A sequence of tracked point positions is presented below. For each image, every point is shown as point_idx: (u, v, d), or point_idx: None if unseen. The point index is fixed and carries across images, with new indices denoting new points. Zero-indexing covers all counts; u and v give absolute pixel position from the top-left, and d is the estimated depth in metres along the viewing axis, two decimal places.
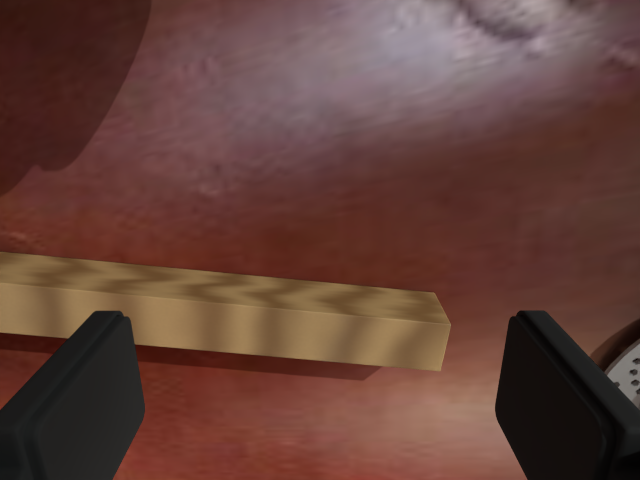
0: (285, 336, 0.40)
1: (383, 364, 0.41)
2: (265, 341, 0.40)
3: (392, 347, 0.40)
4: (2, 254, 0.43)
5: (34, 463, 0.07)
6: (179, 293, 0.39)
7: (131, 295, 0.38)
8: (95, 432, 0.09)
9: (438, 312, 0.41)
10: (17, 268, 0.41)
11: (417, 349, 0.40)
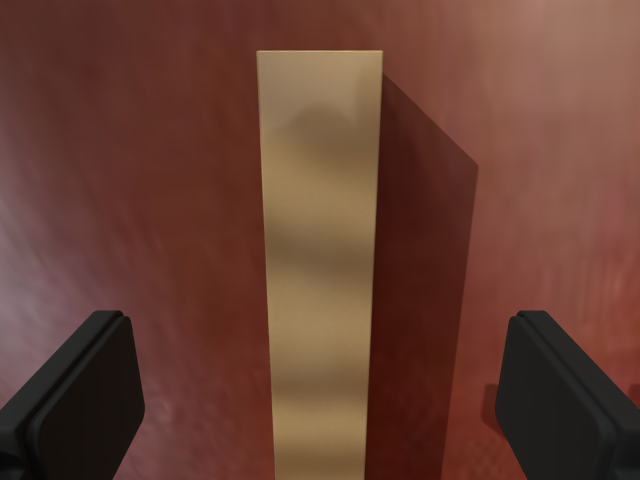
0: (325, 363, 0.22)
1: (372, 184, 0.19)
2: (337, 392, 0.23)
3: (329, 173, 0.19)
4: None
5: (34, 463, 0.07)
6: None
7: None
8: (95, 432, 0.09)
9: None
10: None
11: (328, 117, 0.18)
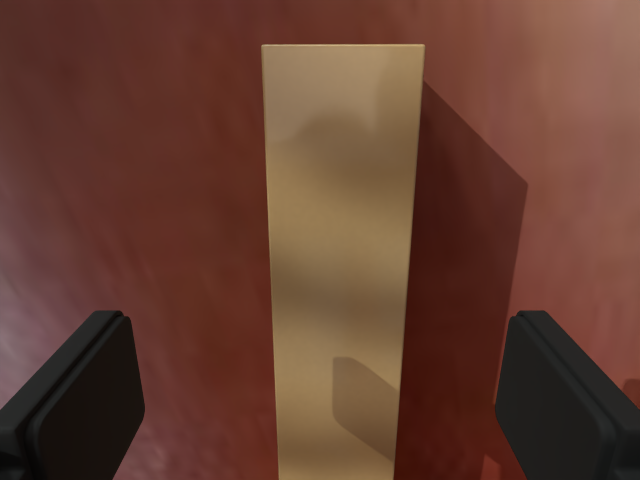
0: (343, 427, 0.18)
1: (406, 214, 0.15)
2: (357, 460, 0.19)
3: (352, 200, 0.15)
4: None
5: (34, 463, 0.07)
6: None
7: None
8: (95, 432, 0.09)
9: None
10: None
11: (353, 130, 0.14)
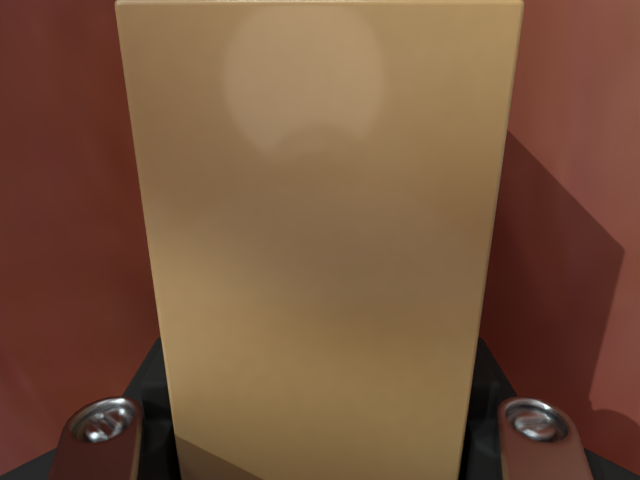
0: None
1: (460, 372, 0.07)
2: None
3: (345, 345, 0.07)
4: None
5: None
6: None
7: None
8: None
9: None
10: None
11: (346, 203, 0.06)
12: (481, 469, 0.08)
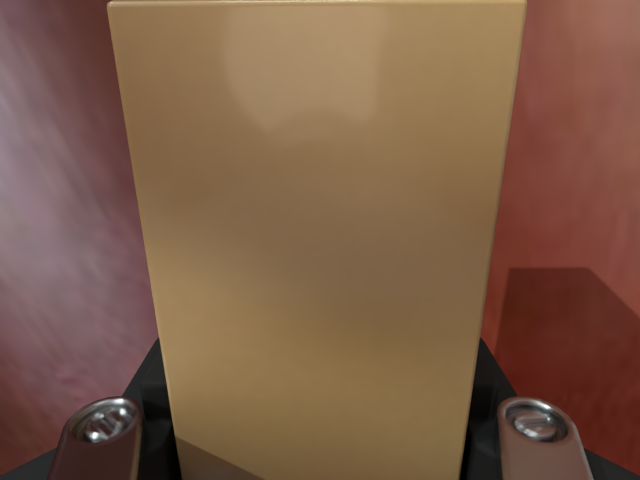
0: None
1: (461, 375, 0.07)
2: None
3: (345, 349, 0.07)
4: None
5: None
6: None
7: None
8: None
9: None
10: None
11: (345, 206, 0.06)
12: (481, 469, 0.08)
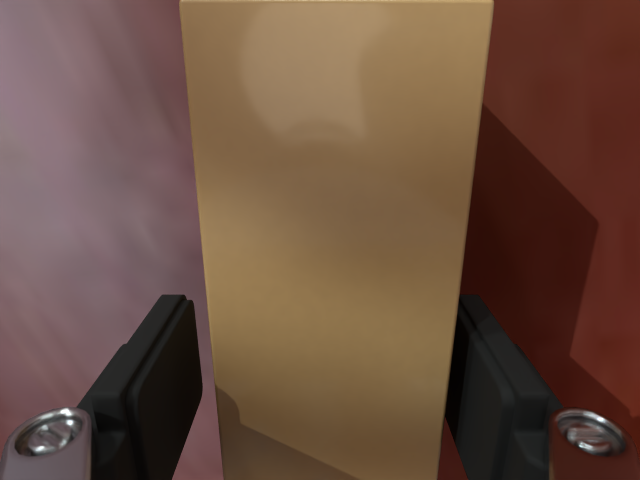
0: None
1: (447, 303, 0.09)
2: None
3: (354, 280, 0.09)
4: None
5: (133, 426, 0.08)
6: None
7: None
8: (171, 404, 0.10)
9: None
10: None
11: (356, 160, 0.08)
12: None
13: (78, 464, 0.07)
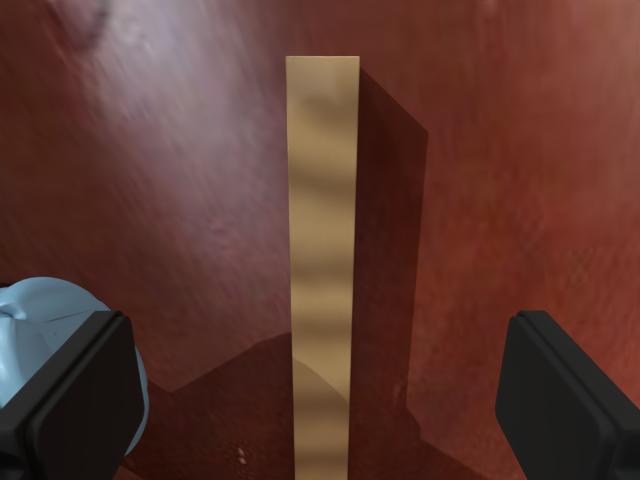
0: (325, 256, 0.35)
1: (354, 137, 0.32)
2: (333, 277, 0.35)
3: (328, 130, 0.32)
4: None
5: (34, 463, 0.07)
6: None
7: (294, 398, 0.39)
8: (95, 432, 0.09)
9: None
10: None
11: (328, 96, 0.31)
12: None
13: None
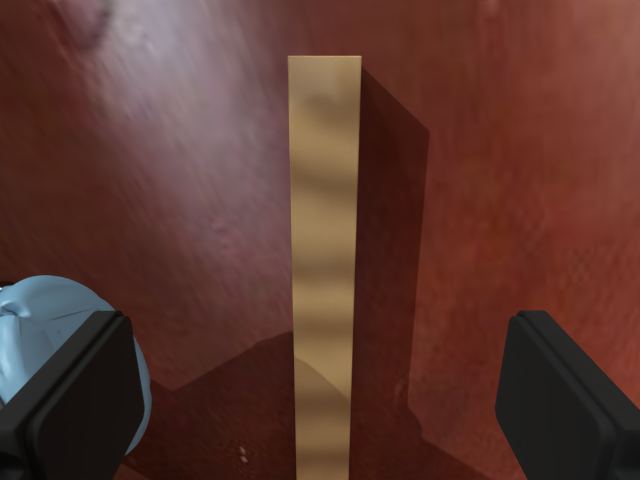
0: (327, 255, 0.35)
1: (355, 136, 0.32)
2: (334, 276, 0.36)
3: (330, 129, 0.32)
4: None
5: (34, 463, 0.07)
6: None
7: (295, 397, 0.40)
8: (95, 432, 0.09)
9: None
10: None
11: (329, 95, 0.31)
12: None
13: None
